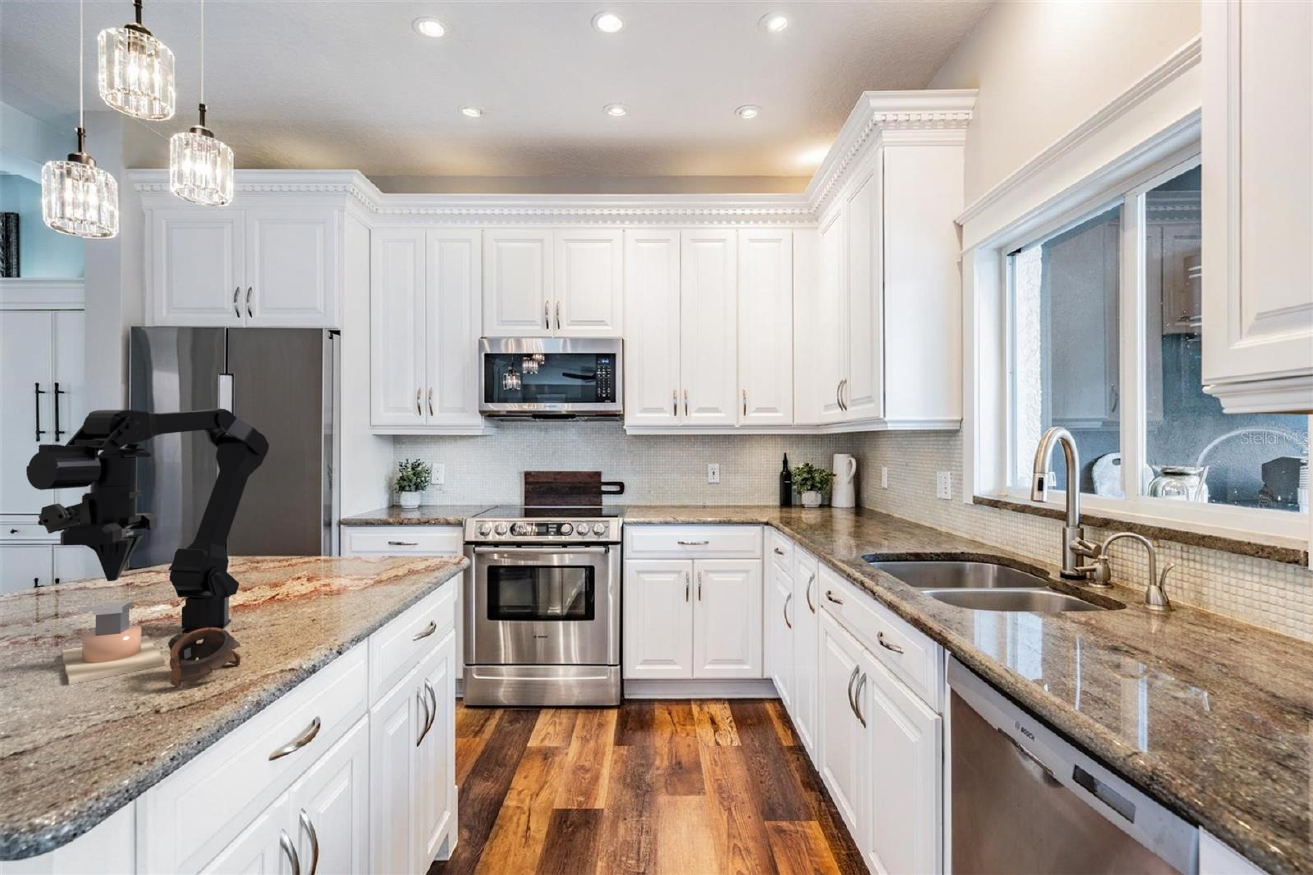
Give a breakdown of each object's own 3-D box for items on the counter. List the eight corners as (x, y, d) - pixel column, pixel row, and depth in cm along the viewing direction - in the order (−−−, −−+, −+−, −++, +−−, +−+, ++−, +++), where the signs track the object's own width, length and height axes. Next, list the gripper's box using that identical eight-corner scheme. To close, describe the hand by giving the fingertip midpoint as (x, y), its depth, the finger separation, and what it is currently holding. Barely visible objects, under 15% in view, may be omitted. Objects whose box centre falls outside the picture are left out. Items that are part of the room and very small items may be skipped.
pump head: (132, 626, 102) (132, 601, 102) (121, 632, 98) (122, 606, 98) (84, 630, 99) (85, 604, 99) (72, 637, 96) (73, 610, 96)
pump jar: (148, 645, 104) (149, 604, 104) (130, 659, 97) (130, 615, 97) (94, 651, 101) (95, 608, 101) (72, 665, 94) (73, 620, 94)
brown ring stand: (260, 667, 98) (252, 631, 94) (207, 716, 89) (195, 678, 85) (199, 644, 100) (188, 607, 96) (142, 689, 91) (127, 651, 88)
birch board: (61, 655, 101) (61, 650, 101) (147, 640, 109) (147, 635, 109) (69, 684, 89) (69, 679, 89) (164, 665, 97) (164, 660, 97)
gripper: (79, 483, 105) (78, 573, 105) (14, 490, 88) (13, 598, 88) (158, 482, 110) (157, 568, 109) (111, 489, 92) (110, 591, 92)
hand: (112, 580), depth 100 cm, fingers closed
